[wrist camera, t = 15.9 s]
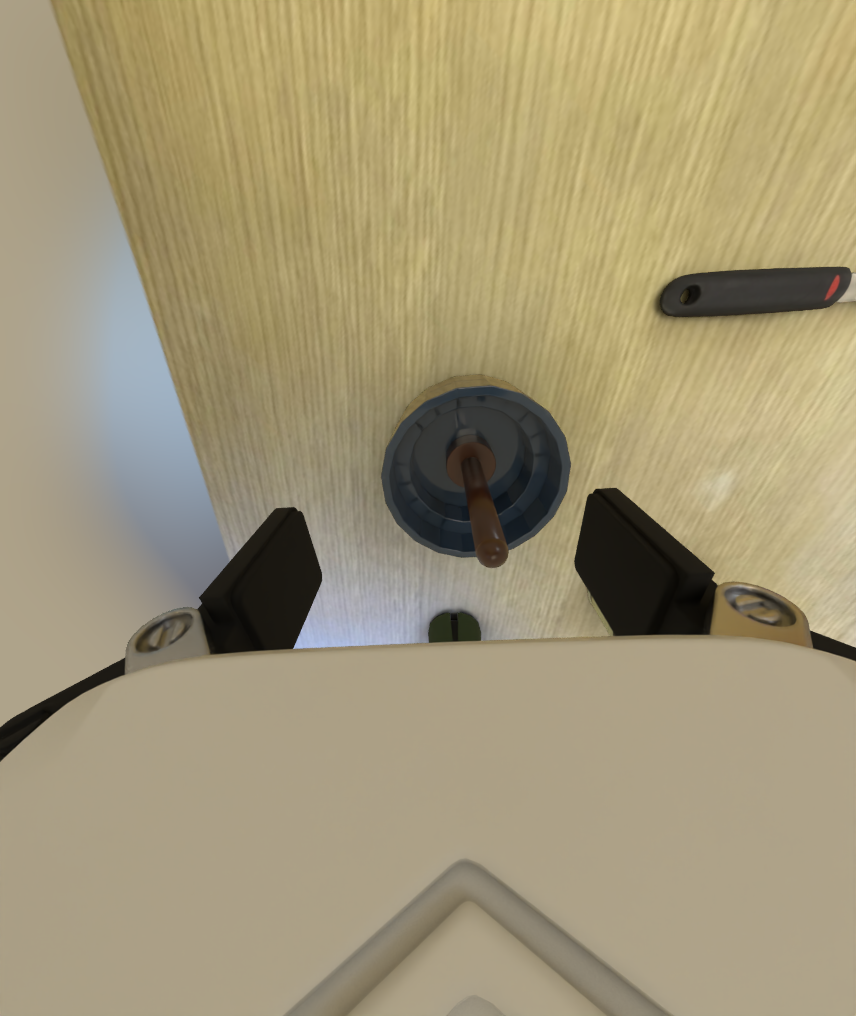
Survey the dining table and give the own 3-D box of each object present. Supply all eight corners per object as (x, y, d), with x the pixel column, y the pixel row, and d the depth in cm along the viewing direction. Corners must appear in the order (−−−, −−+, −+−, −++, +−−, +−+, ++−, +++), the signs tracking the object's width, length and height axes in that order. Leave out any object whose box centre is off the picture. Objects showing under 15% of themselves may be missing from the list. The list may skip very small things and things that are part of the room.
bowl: (402, 522, 31) (394, 561, 26) (382, 381, 25) (367, 394, 20) (536, 515, 30) (557, 553, 25) (552, 367, 24) (585, 377, 19)
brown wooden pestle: (446, 479, 28) (453, 594, 16) (444, 436, 26) (450, 528, 14) (491, 477, 28) (533, 591, 16) (492, 432, 26) (541, 524, 14)
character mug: (500, 604, 36) (528, 727, 25) (497, 644, 40) (521, 768, 29) (407, 606, 37) (394, 728, 26) (412, 645, 41) (402, 768, 29)
